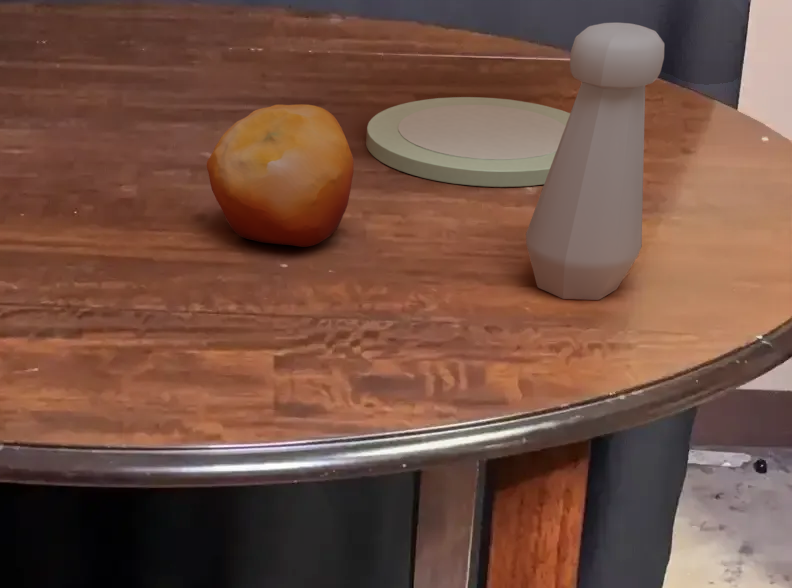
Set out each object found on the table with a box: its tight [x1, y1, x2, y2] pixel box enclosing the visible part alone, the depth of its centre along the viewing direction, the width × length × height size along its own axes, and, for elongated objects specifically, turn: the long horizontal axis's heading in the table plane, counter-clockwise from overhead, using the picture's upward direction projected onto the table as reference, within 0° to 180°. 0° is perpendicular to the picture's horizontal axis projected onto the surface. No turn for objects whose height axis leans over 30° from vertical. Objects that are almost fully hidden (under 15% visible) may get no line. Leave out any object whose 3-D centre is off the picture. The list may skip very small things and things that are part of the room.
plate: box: [365, 96, 571, 188], centre depth 98 cm, size 15×15×1 cm
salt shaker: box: [525, 22, 665, 301], centre depth 76 cm, size 6×6×13 cm
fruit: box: [206, 103, 355, 248], centre depth 85 cm, size 8×8×8 cm
